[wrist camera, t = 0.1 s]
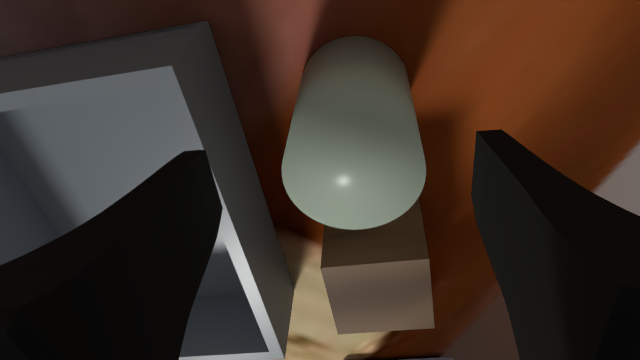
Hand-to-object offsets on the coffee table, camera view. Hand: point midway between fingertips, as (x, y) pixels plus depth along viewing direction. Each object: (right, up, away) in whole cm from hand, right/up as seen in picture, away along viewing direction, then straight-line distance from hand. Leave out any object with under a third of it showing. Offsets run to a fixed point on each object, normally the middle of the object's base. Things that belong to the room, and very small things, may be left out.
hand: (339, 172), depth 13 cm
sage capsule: (+1, +4, +9) cm, 10 cm away
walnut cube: (+3, -3, +15) cm, 15 cm away
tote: (-10, -1, +14) cm, 17 cm away
